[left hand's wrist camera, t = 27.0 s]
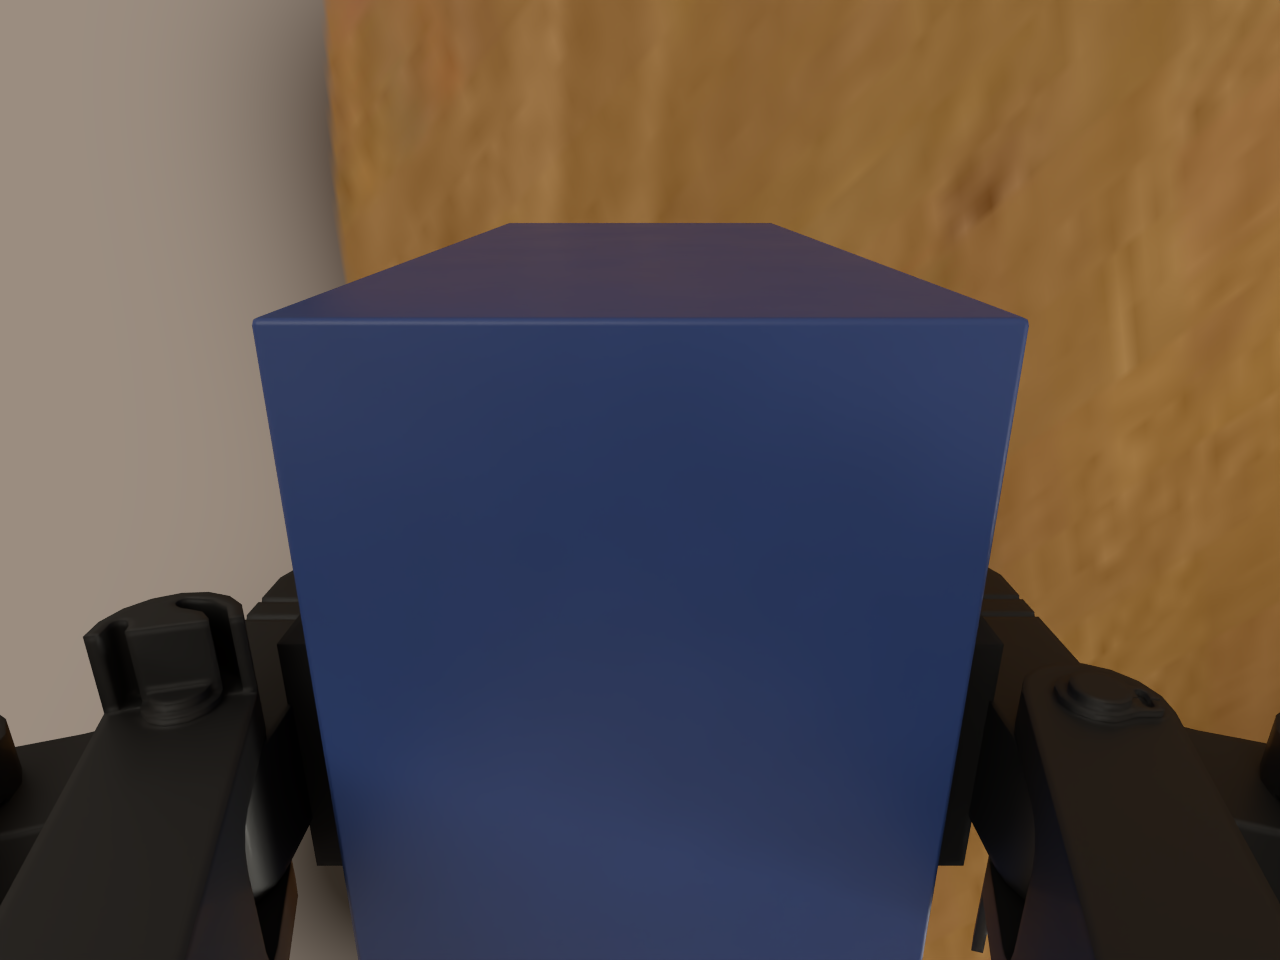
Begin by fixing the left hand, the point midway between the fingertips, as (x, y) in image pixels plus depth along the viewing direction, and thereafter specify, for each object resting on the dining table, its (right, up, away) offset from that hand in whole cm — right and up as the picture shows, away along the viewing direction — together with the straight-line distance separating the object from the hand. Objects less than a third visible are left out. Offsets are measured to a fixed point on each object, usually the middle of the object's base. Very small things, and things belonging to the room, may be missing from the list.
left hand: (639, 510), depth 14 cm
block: (0, +1, +4) cm, 4 cm away
